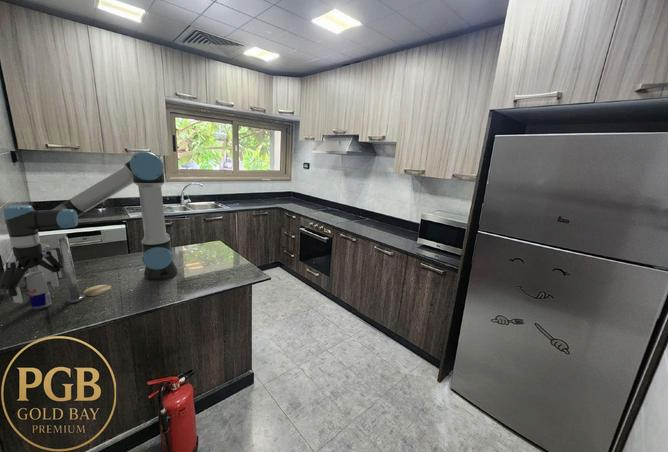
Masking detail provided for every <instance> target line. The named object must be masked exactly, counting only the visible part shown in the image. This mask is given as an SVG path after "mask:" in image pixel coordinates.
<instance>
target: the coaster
mask: <svg viewBox="0 0 668 452" xmlns="http://www.w3.org/2000/svg"><path fill="white" fill-rule="evenodd" d="M111 290H112V285H110V284H99V285H94V286H91V287H88V288H87V289H85V290H83V292H82V293H83V295H85V297H95V296H100V295H103V294H106V293H108V292H110V291H111Z"/></svg>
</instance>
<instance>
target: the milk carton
mask: <svg viewBox="0 0 668 452" xmlns="http://www.w3.org/2000/svg"><path fill="white" fill-rule="evenodd" d="M40 244H41V247H42V252H43V251H50V252H51V254H52V256H53V257H54V258H55V259H56V260H57V261H58V262H59V257H58V252H57V249H55V248H51V247H50V245H48V244H46V243H40ZM42 260H44V261H45V262H46V263H48V264H50V263H49V262H48V261H47V260H46V259H45V257H43V258H42ZM59 263H60V262H59ZM50 265H51V264H50ZM39 270H40V271H43V272H44V274H45V278H46V282H47V283H51V281H50V276H49V272H52V271H50V270H48V269H46V268H44V267H42V266H40V265H39ZM58 274H59V278H58V280H59V279H62V278H63V275H62V270H61V269H60V271H59V272H58Z"/></svg>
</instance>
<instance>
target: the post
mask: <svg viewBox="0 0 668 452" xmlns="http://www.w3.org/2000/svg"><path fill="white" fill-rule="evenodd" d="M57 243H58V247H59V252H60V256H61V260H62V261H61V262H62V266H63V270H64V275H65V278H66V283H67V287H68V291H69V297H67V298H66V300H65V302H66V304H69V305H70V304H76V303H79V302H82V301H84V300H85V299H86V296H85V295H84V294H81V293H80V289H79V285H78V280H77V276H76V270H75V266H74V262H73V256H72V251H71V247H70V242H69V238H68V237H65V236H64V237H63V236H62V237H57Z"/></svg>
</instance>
